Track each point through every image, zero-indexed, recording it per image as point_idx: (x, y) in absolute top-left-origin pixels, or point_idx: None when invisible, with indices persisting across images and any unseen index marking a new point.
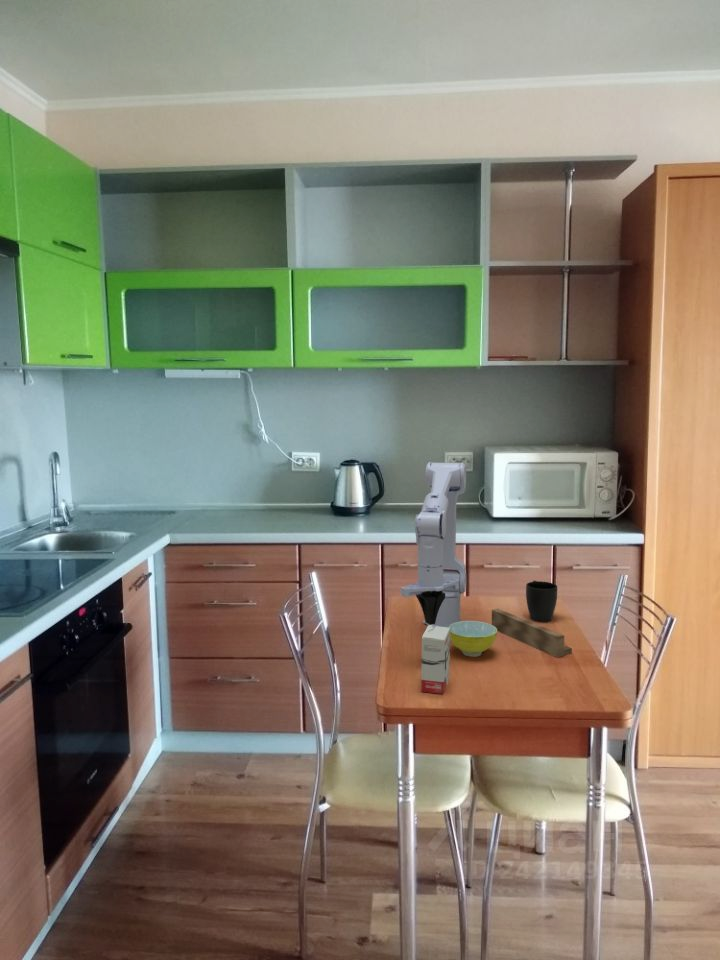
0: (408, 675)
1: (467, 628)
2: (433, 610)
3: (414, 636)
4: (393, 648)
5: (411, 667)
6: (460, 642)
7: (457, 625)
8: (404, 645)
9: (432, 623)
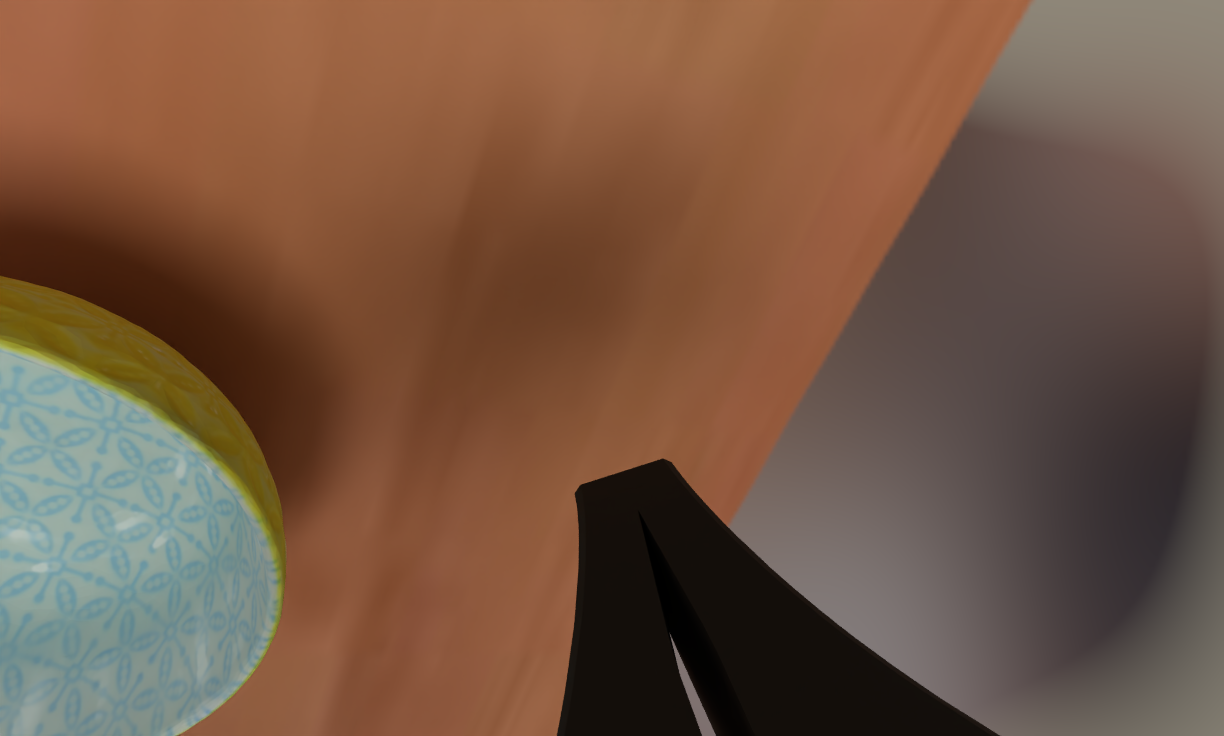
0: (834, 25)
1: (20, 693)
2: (726, 657)
3: (488, 695)
4: None
5: (729, 200)
6: (172, 363)
7: (137, 712)
8: None
9: (635, 474)
